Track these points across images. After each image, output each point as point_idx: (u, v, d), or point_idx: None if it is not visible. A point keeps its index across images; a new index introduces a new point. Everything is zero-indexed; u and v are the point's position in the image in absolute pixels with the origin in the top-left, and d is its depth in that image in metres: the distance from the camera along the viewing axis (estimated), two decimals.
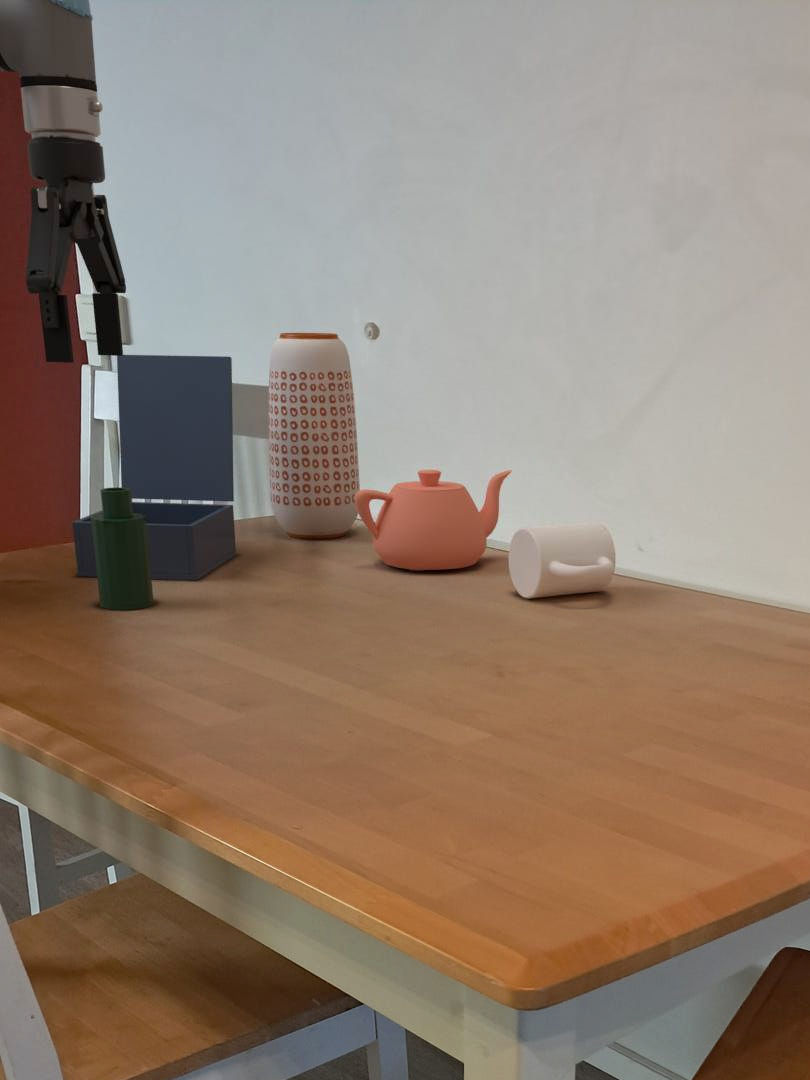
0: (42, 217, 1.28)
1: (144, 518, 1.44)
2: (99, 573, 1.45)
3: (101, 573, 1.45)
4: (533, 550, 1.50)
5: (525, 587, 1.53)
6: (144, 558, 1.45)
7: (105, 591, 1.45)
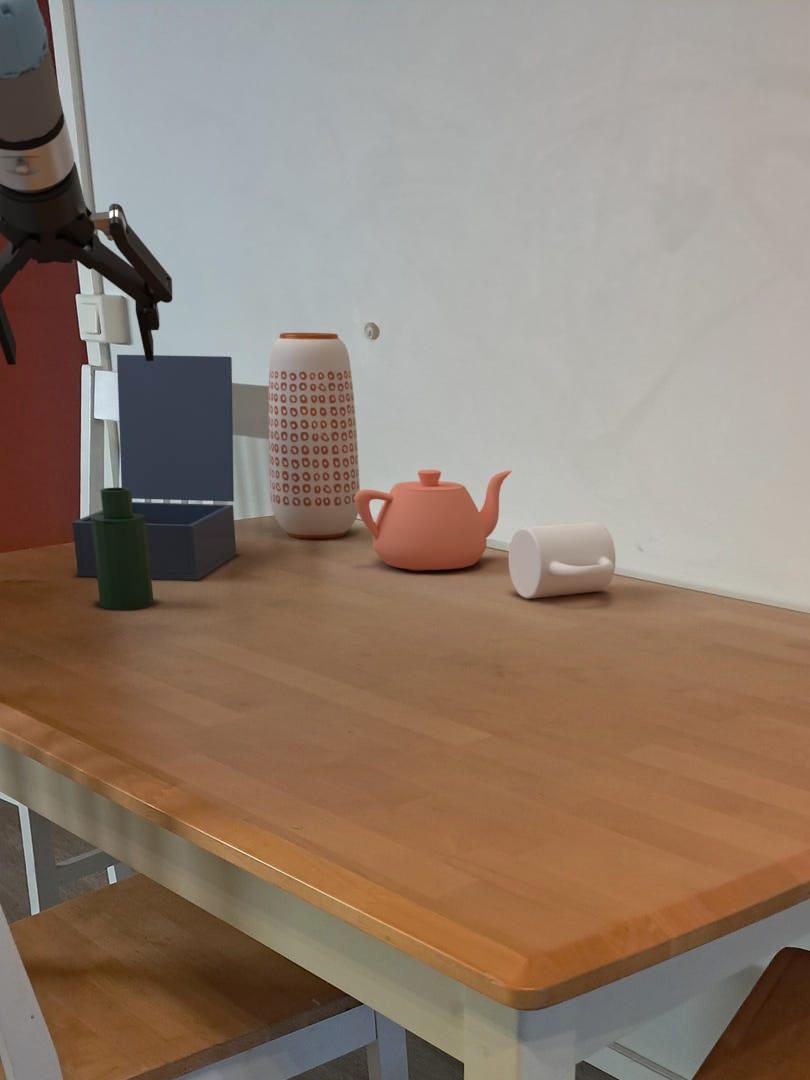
0: None
1: (144, 518, 1.44)
2: (99, 573, 1.45)
3: (101, 573, 1.45)
4: (533, 550, 1.50)
5: (525, 587, 1.53)
6: (144, 558, 1.45)
7: (105, 591, 1.45)
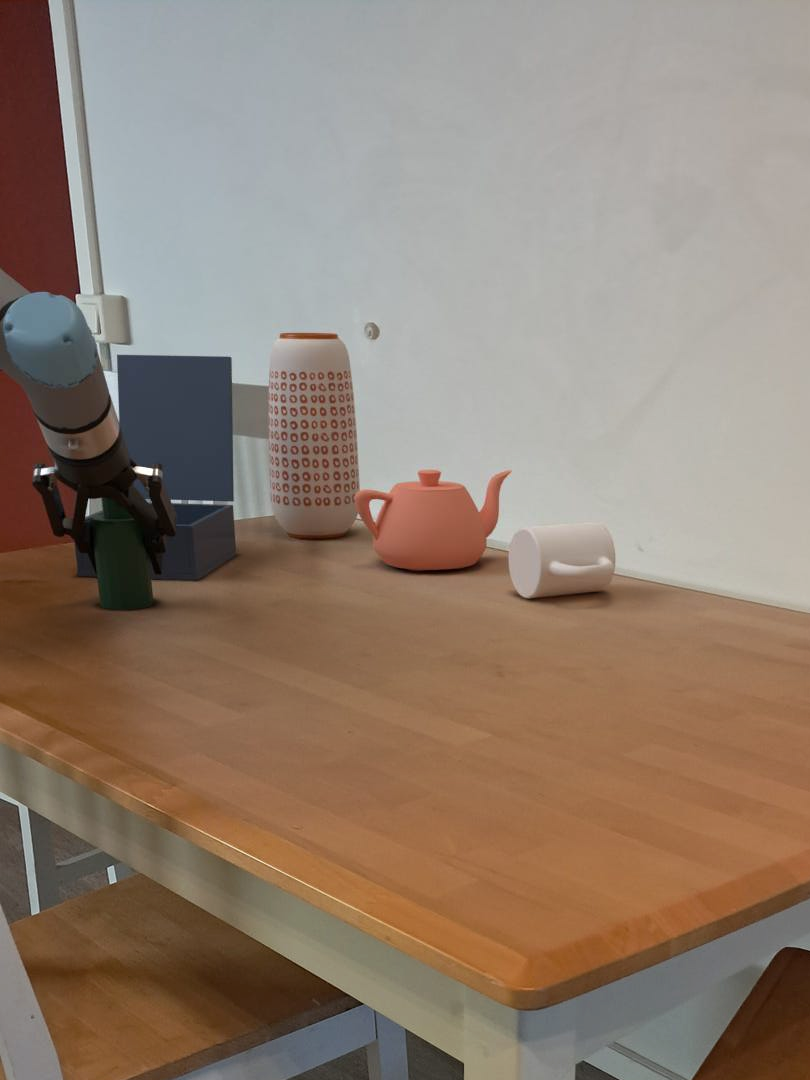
0: None
1: None
2: (98, 573, 1.45)
3: (101, 573, 1.45)
4: (533, 550, 1.50)
5: (525, 587, 1.53)
6: (144, 558, 1.45)
7: (105, 591, 1.45)
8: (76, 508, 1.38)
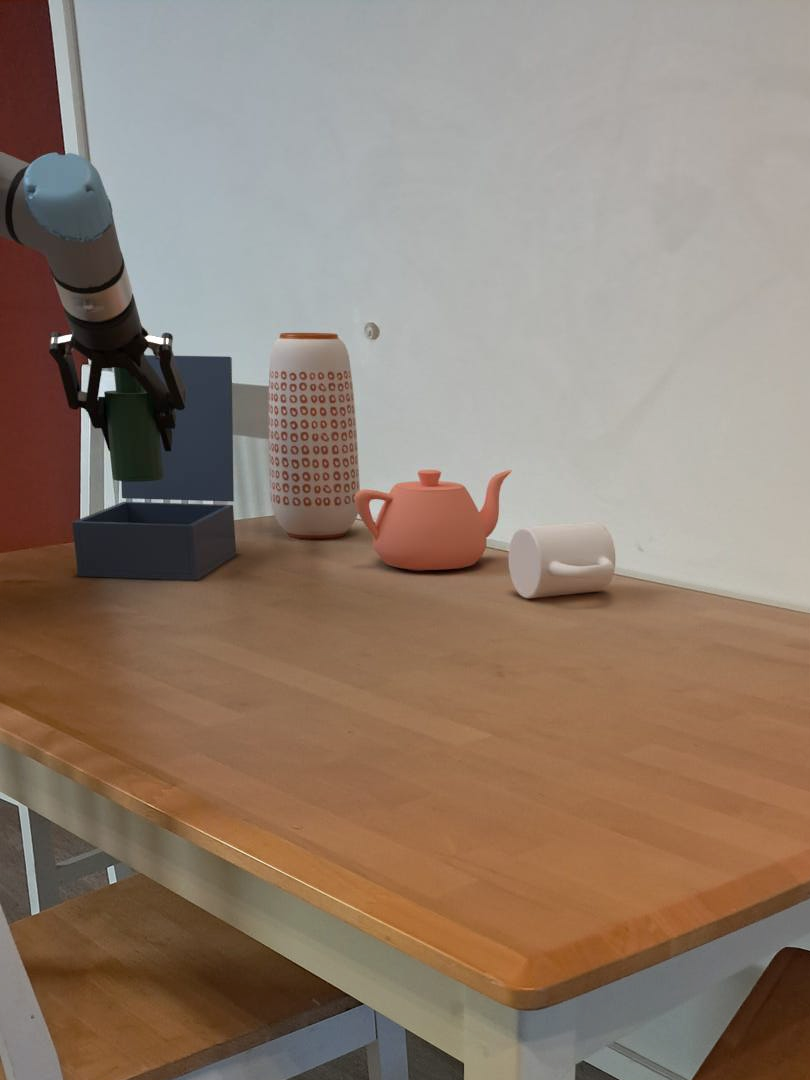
0: None
1: None
2: (111, 446, 1.52)
3: (114, 446, 1.52)
4: (533, 550, 1.50)
5: (525, 587, 1.53)
6: (155, 432, 1.53)
7: (117, 463, 1.53)
8: (90, 378, 1.45)
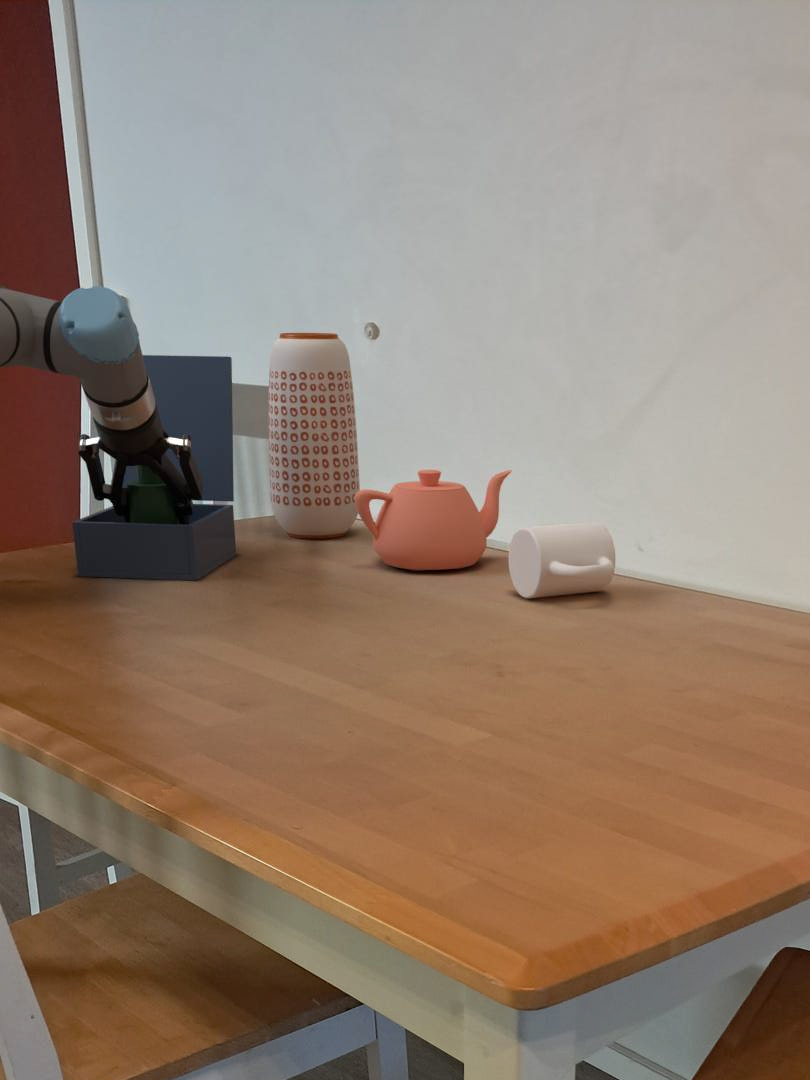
0: None
1: None
2: None
3: None
4: (533, 550, 1.50)
5: (525, 587, 1.53)
6: (173, 519, 1.65)
7: None
8: (115, 474, 1.58)
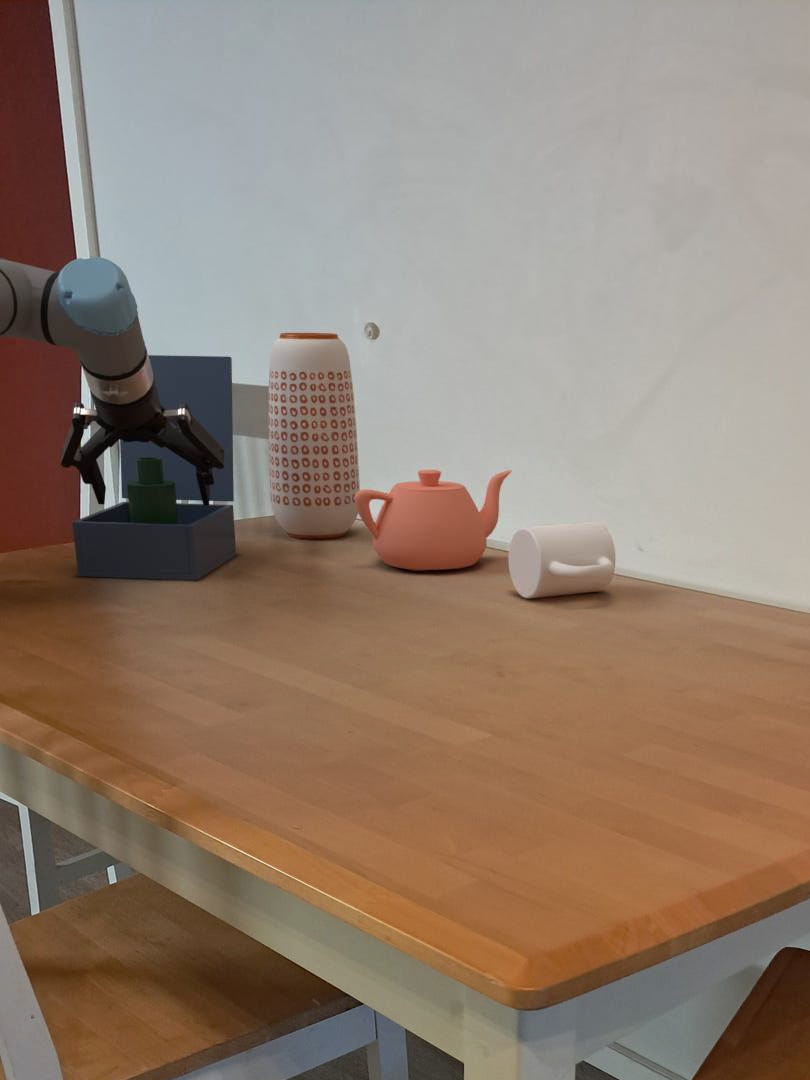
0: (73, 425, 1.54)
1: (173, 484, 1.64)
2: None
3: None
4: (533, 550, 1.50)
5: (525, 587, 1.53)
6: (173, 519, 1.65)
7: None
8: (99, 445, 1.56)
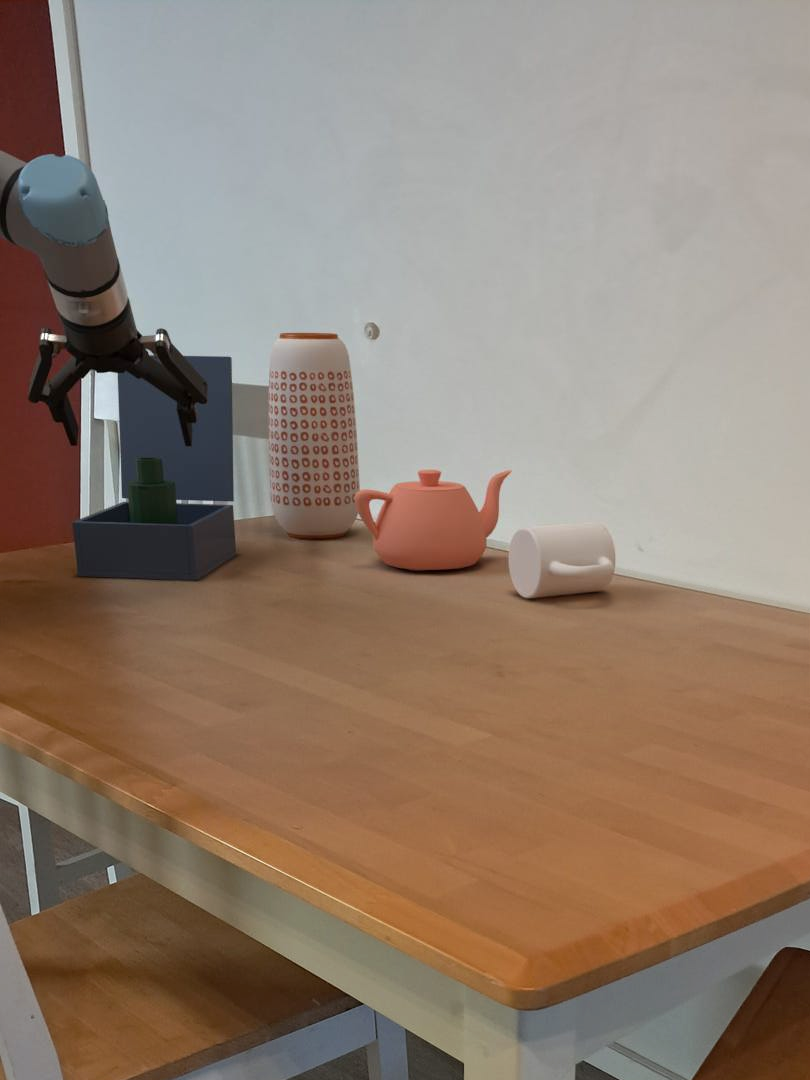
0: (40, 354, 1.41)
1: (173, 484, 1.64)
2: None
3: None
4: (533, 550, 1.50)
5: (525, 587, 1.53)
6: (173, 519, 1.65)
7: None
8: (69, 376, 1.42)
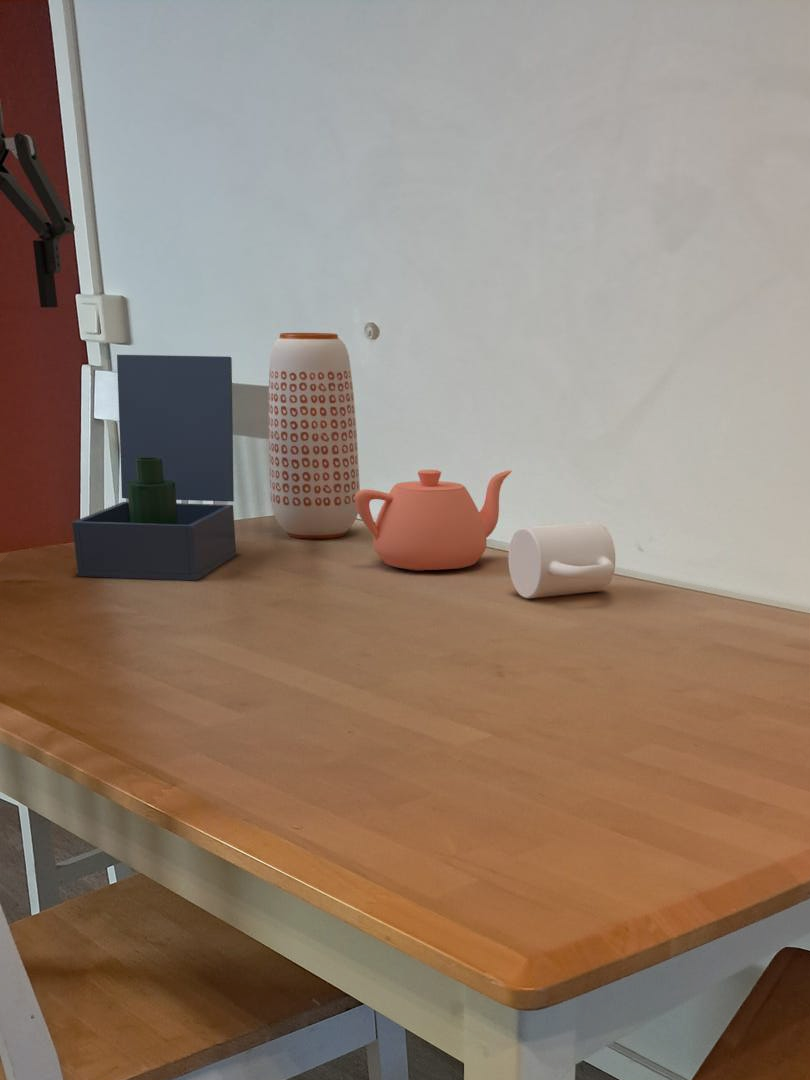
0: None
1: (173, 484, 1.64)
2: None
3: None
4: (533, 550, 1.50)
5: (525, 587, 1.53)
6: (173, 519, 1.65)
7: None
8: None
